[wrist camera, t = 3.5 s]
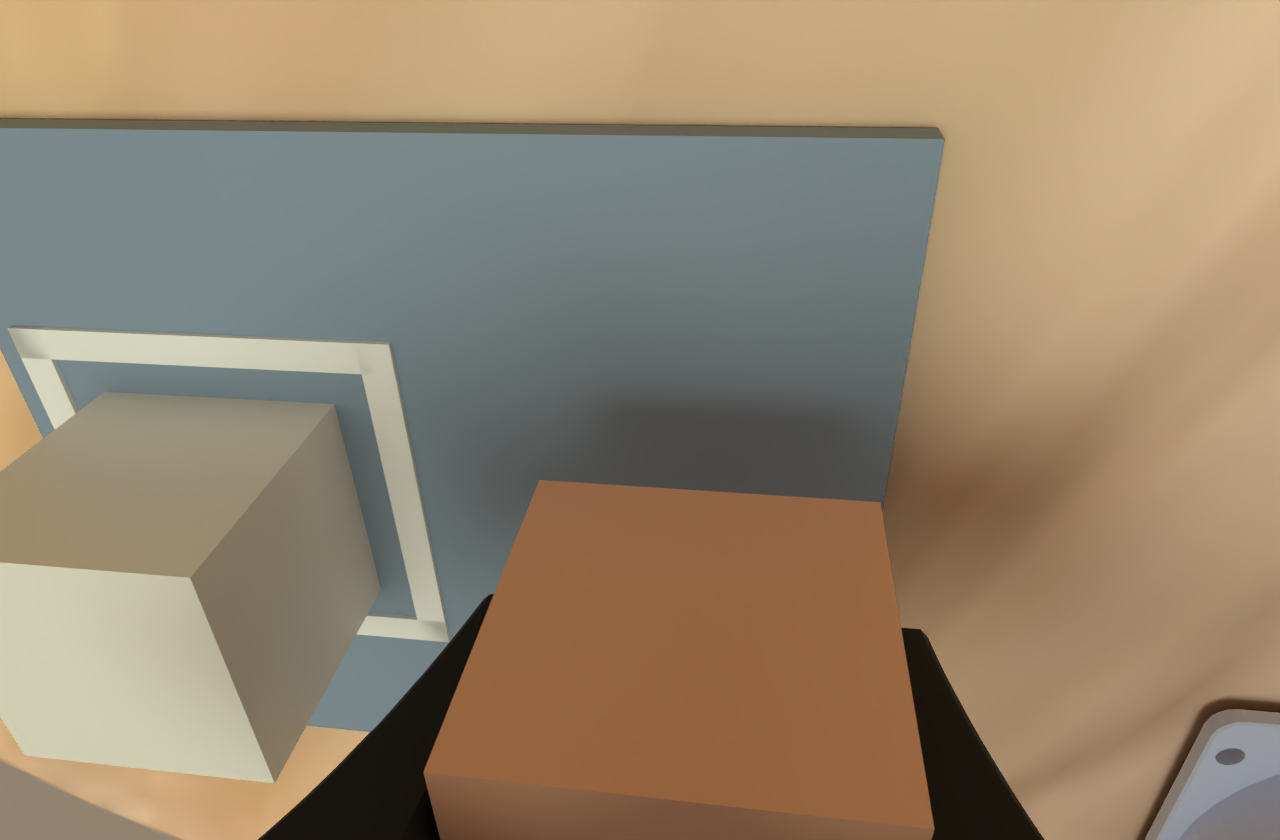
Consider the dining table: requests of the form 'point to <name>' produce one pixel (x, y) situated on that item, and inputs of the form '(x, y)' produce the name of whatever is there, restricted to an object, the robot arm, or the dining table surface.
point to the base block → (179, 582)
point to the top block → (686, 676)
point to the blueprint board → (480, 315)
